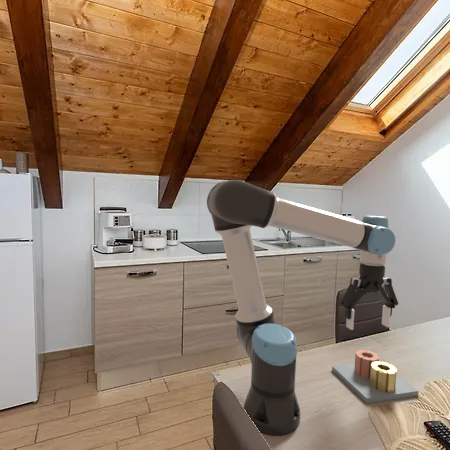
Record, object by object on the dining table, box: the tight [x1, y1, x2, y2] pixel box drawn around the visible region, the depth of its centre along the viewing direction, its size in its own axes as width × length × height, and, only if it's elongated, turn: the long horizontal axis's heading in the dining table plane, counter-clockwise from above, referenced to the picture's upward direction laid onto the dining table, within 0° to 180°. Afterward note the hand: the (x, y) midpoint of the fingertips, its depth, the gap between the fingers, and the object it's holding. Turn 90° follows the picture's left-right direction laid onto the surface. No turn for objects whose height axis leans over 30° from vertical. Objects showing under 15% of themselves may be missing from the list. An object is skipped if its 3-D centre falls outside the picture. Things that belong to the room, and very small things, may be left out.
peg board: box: [331, 356, 419, 404], centre depth 103 cm, size 18×18×6 cm
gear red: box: [354, 349, 380, 378], centre depth 106 cm, size 7×7×6 cm
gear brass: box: [370, 360, 398, 393], centre depth 99 cm, size 7×7×6 cm
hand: (367, 327), depth 106 cm, fingers open, 13 cm apart
